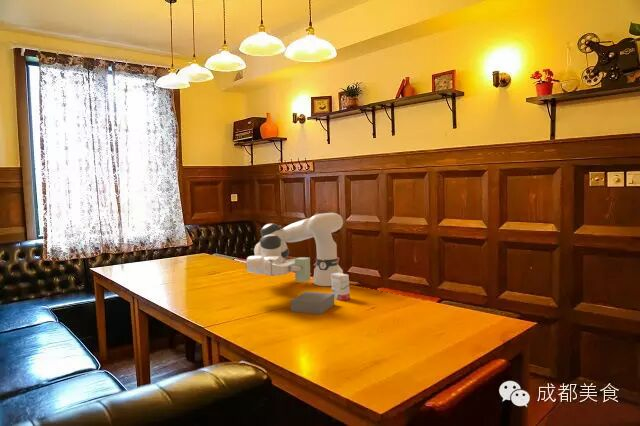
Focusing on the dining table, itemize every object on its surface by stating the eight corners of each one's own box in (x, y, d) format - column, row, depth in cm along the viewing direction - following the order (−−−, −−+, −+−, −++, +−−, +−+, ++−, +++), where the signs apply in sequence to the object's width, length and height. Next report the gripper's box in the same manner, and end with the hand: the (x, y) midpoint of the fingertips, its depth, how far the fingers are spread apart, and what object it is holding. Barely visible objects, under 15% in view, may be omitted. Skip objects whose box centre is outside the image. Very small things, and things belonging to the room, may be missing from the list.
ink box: (350, 299, 210) (349, 274, 209) (341, 301, 207) (341, 276, 207) (339, 296, 217) (339, 272, 217) (331, 297, 215) (330, 273, 214)
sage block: (300, 279, 202) (299, 257, 202) (310, 279, 200) (309, 257, 200) (295, 281, 198) (294, 258, 197) (305, 281, 196) (305, 259, 195)
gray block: (306, 302, 207) (306, 291, 207) (334, 304, 202) (334, 293, 202) (291, 311, 193) (290, 300, 192) (320, 314, 187) (320, 302, 187)
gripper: (288, 268, 213) (314, 269, 208) (266, 276, 195) (294, 278, 189) (287, 255, 213) (313, 256, 207) (265, 262, 194) (294, 263, 189)
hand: (304, 267), depth 198 cm, fingers closed on sage block, 5 cm apart
